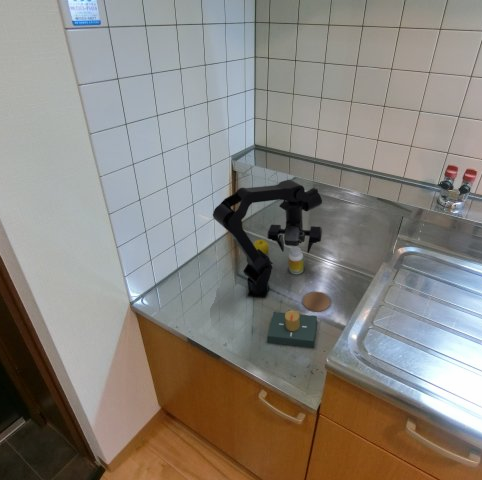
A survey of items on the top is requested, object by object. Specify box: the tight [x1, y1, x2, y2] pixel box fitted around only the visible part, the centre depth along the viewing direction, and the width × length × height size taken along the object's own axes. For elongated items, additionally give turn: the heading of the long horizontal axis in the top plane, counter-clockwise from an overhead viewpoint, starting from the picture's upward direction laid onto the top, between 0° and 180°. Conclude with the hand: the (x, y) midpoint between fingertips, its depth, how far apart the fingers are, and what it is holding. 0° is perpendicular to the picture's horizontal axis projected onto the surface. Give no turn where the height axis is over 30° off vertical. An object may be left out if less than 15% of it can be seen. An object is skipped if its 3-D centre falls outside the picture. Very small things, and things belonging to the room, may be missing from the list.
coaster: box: [302, 291, 331, 313], centre depth 127 cm, size 9×9×1 cm
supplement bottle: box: [288, 246, 304, 275], centre depth 139 cm, size 5×5×10 cm
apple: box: [253, 238, 270, 256], centre depth 148 cm, size 6×6×8 cm
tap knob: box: [285, 309, 300, 331], centre depth 114 cm, size 4×4×5 cm
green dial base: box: [267, 311, 318, 348], centre depth 116 cm, size 14×10×3 cm
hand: (295, 251), depth 136 cm, fingers open, 9 cm apart
